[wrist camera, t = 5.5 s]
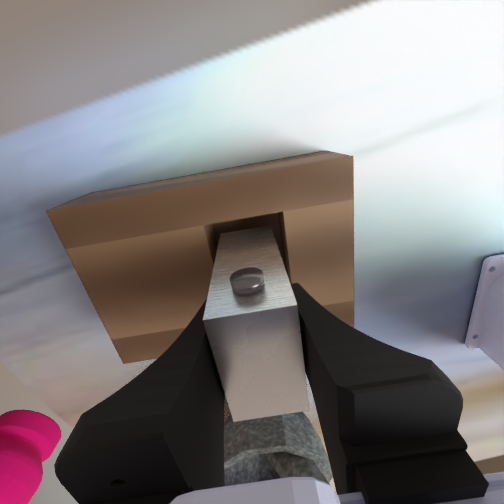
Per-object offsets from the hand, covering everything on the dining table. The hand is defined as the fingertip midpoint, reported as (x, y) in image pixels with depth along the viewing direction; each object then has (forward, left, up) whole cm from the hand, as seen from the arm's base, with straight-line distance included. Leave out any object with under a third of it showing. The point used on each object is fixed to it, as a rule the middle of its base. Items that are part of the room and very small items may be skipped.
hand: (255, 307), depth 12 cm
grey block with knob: (0, 0, -4) cm, 5 cm away
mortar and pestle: (-18, +1, -8) cm, 19 cm away
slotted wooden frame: (0, +2, -8) cm, 8 cm away
